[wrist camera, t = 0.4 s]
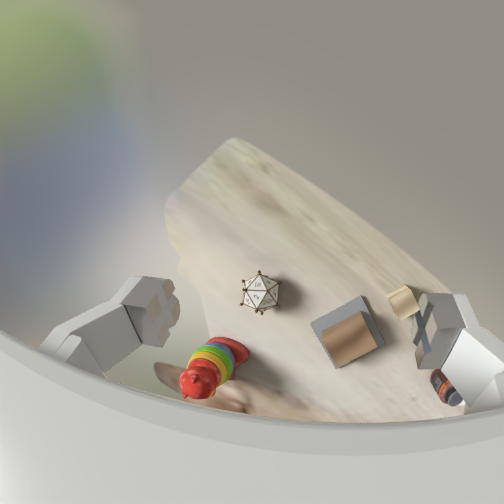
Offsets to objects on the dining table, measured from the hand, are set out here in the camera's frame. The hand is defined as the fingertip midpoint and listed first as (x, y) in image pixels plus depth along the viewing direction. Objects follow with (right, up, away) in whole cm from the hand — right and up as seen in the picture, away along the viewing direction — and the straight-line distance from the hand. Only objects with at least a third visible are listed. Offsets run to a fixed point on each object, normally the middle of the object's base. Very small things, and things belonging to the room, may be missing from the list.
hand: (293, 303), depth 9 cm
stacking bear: (-8, -23, +58) cm, 63 cm away
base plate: (+19, -15, +50) cm, 56 cm away
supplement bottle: (+43, -27, +45) cm, 67 cm away
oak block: (+29, -8, +47) cm, 56 cm away
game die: (+2, -6, +54) cm, 55 cm away
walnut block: (+19, -16, +49) cm, 54 cm away
